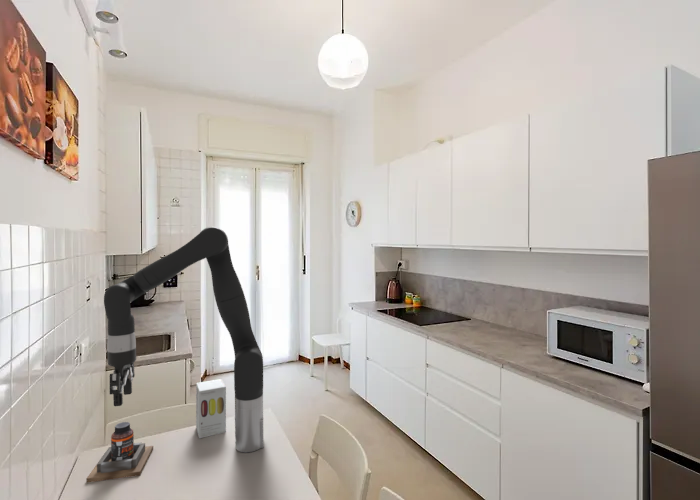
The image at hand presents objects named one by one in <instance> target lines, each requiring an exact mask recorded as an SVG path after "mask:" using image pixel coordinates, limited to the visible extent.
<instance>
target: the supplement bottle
mask: <svg viewBox="0 0 700 500" xmlns="http://www.w3.org/2000/svg"><path fill="white" fill-rule="evenodd" d="M134 436H135V435H134V429H133V428H132V427H131V423H130V421H122V422H119V423H116V425H115V426H114V431H113V433H112V434H111V437H110V441H111V443H110V447H111V461H118V460H126V459H132V458H133V457H134V443H135V442H134Z"/></svg>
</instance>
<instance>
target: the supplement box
mask: <svg viewBox="0 0 700 500" xmlns="http://www.w3.org/2000/svg"><path fill="white" fill-rule="evenodd" d="M195 385H196V386H195V392H196V394H195V396H196V397H195V400H196V401H195V404H196V405H195V418H196V419H195V427H196V428H195V429H196V432H197V435H198V438H199V439H202V438H207V437H210V436H215V435H219V434H224V433H226V432H227V431H226V430H227V429H226V428H227V423H226V422H227V414H226V413H227V396H226V395H227V387H226V384H225V383H224V381H223V379H222V378H219V379H212V380H206V381H200V382H199V381H198V382H196V384H195Z"/></svg>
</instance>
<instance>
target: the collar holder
mask: <svg viewBox="0 0 700 500" xmlns="http://www.w3.org/2000/svg"><path fill="white" fill-rule="evenodd" d="M153 451H154V445H149V446H146V443H145V442H134V457H133V458H132V459H126V460H118V461H111V446H108V448H107V449H106V451H105V452H104V453H103V455H102V456H101V458H100V459H99V461H98V462H97V463H96V465H95V466H94V467H93V468H92V470H91V471H90V473H89V474H88V476H87V477H86V483H87V484H88V483H94V482H101V481H109V480H115V479H117V480H118V479H122V478H130V477H138V476H141V475H142V473H143V471H144V469H145V467H146V466H147V463H148V461H149V459H150V457H151V455H152V453H153Z"/></svg>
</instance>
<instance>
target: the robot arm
mask: <svg viewBox="0 0 700 500" xmlns="http://www.w3.org/2000/svg"><path fill="white" fill-rule="evenodd" d="M229 246H230V245H229V239H228V235H227V234H226V232H225V231H224V230H222V229H221V228H220V227H216V226H207V227H205V228H203V229H202V230H200V232H199V233H198V234H197V235H196V236H194V238H192V239H191V240H189V242H187V243H185V244H184V245H182V246H181V247H180V248H178V249H177V250H174V251H173V252H171V253H169V254H166V255H165V256H163V257H161V258H160V259H157V260H155V261H153V262H151V263H150V264H148V265H146V266H144V267H142V268H141V269H139V270H138V271H137V272H136V273H135V274H133V275H131V276H129V277H128V278H126V279H123V280H122V281H120V282H118V283H116V284H113V285H111V286H109V287H108V288H106V290H105V292H104V295H103V306H104V311H105V313H106V314H105V315H106V317H107V341H106V343H107V344H106V345H107V348H106V349H107V350H106V351H107V366H110V367H113V368H114V370H113V373H110V374H109V395H113V397H112V398H113V406H114V407H121V406H122V405H123V404H124V401H123V400H124V399H123V397H124V396H126V395H132V393H133V383H132V382H133V381H134V378H135V375H136V374H135V362H136V361H137V340H136V339H137V338H136V329H135V317H134V314H132V310H131V303H132V302H133V301H135V300H137V299H138V298H139V297H141V296H143V295H144V294H146V293H147V292H150V291H151V290H153V289H155V288H157V287H159V286H161V285H163V284H164V283H166V282H167V281H169V280H171V279H172V278H173V277H175V276H177V275H178V274H179V273H181V272H183V270H185V269H187V268H189V267H190V266H192V265H194V264H196V263H197V262H198V263H199V261H203V260H205V259H206V261H207V264H208V267H209V270H210V273H211V274H210V275H211V281H212V282H211V284H212V289H213V294H214V298H215V302H216V306H217V311H218V314H219V316H220V319H221V320H222V322H223V324H224V326H225V328H226V330H227V331H228V334H229V336H230V338H231V342H232V347H233V351H234V364H233V380H234V382H233V385H234V387H233V388H234V429H235V430H234V437H235V438H234V445H235V446H234V447H235V448H234V449H235V450H236V451H238V452H239V453H252V452H255V451H257V450H260V449H263V448H264V357H263V353H262V351H261V348H260V347H259V346H260V345H258V344H259V343H258V342H257V340H256V337H255V335H254V332H253V329H252V325H251V324H252V323H251V318H250V311H249V307H248V302H247V299H246V297H245V293H244V290H243V286H242V284H241V282H240V279H239V277H238V274H237V272H236V270H235V267H234V265H233V261H232V258H231V257H232V256H231V252H230V251H231V250H230V247H229ZM123 395H124V396H123Z"/></svg>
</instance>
